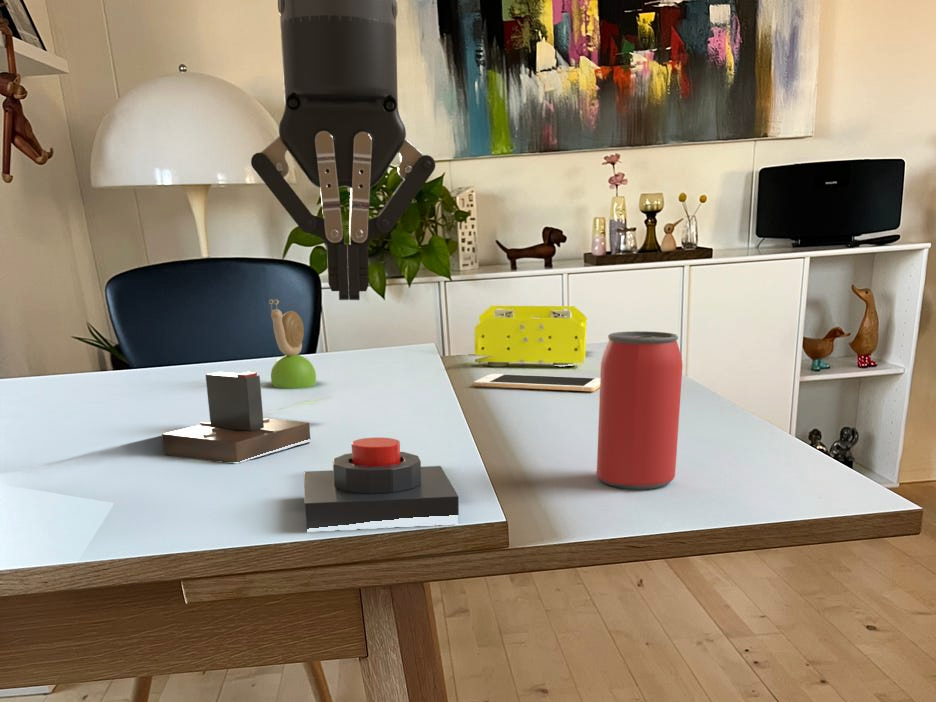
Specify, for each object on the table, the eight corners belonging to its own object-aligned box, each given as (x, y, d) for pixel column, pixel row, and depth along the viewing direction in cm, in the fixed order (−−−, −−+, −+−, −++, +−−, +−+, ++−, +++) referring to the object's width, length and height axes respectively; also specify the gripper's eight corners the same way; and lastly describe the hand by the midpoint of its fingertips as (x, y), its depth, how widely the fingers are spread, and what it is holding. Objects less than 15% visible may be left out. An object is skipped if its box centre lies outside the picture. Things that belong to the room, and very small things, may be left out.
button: (353, 471, 77) (352, 447, 76) (351, 461, 80) (350, 438, 79) (402, 469, 77) (401, 446, 77) (398, 459, 81) (397, 436, 80)
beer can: (620, 494, 84) (627, 340, 80) (582, 476, 90) (587, 332, 85) (689, 486, 87) (700, 337, 82) (649, 470, 92) (657, 329, 88)
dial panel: (238, 464, 95) (235, 441, 94) (163, 454, 99) (160, 431, 98) (311, 442, 104) (310, 421, 103) (240, 434, 108) (238, 413, 107)
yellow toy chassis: (585, 364, 157) (587, 305, 154) (583, 369, 152) (585, 309, 149) (480, 362, 159) (479, 305, 156) (474, 367, 154) (474, 308, 151)
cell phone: (491, 378, 143) (490, 373, 143) (606, 383, 138) (606, 378, 138) (472, 386, 136) (472, 381, 136) (593, 391, 132) (594, 386, 131)
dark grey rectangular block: (210, 427, 101) (204, 371, 99) (224, 423, 103) (219, 369, 101) (250, 431, 99) (245, 375, 97) (264, 428, 101) (259, 372, 99)
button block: (306, 533, 75) (302, 478, 73) (305, 498, 84) (302, 448, 82) (458, 525, 76) (458, 471, 75) (441, 492, 85) (440, 443, 84)
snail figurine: (260, 403, 126) (251, 299, 121) (285, 395, 131) (278, 295, 127) (301, 405, 124) (293, 300, 120) (325, 397, 130) (318, 296, 125)
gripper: (433, 33, 72) (435, 296, 79) (239, 26, 71) (257, 296, 77) (445, 13, 65) (446, 303, 72) (230, 5, 64) (251, 303, 70)
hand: (348, 299), depth 74 cm, fingers closed
